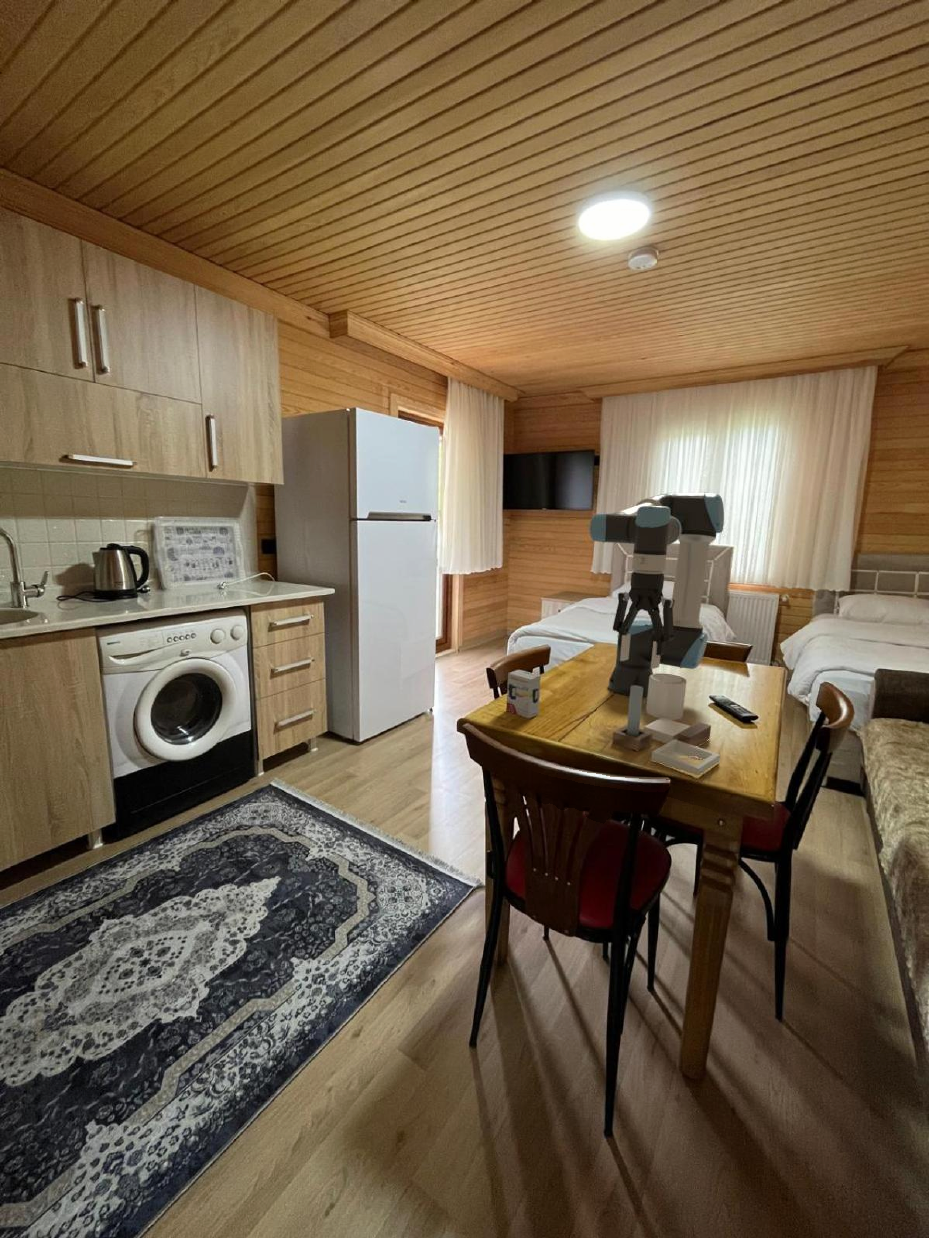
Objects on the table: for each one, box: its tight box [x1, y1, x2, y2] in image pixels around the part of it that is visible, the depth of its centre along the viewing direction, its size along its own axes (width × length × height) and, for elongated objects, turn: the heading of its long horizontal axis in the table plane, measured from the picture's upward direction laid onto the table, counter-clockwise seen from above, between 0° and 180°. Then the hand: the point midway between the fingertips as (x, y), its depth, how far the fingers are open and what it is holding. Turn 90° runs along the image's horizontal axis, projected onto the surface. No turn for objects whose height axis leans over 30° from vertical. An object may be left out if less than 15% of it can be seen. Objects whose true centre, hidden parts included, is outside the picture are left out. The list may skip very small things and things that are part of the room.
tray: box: [650, 739, 721, 775], centre depth 127 cm, size 11×11×2 cm
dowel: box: [626, 685, 644, 737], centre depth 135 cm, size 3×3×15 cm
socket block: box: [611, 725, 653, 752], centre depth 137 cm, size 7×7×3 cm
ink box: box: [505, 669, 541, 719], centre depth 155 cm, size 9×5×12 cm, turn 47°
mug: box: [645, 673, 687, 721], centre depth 156 cm, size 14×10×11 cm
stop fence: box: [678, 722, 712, 747], centre depth 137 cm, size 3×12×4 cm, turn 132°
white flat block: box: [643, 718, 692, 744], centre depth 142 cm, size 8×10×3 cm
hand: (639, 663), depth 133 cm, fingers open, 8 cm apart
